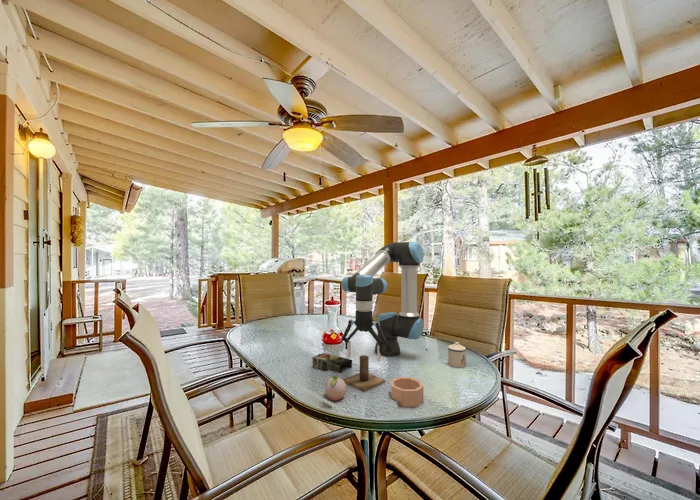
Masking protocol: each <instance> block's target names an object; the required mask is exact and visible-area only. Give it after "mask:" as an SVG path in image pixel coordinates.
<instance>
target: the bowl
mask: <svg viewBox="0 0 700 500" xmlns="http://www.w3.org/2000/svg"><path fill="white" fill-rule="evenodd" d="M390 397H391V399H393V400H395V401H398V402H397V403H396V405H398V406H400V407H408V408H410V407H411V408H412V407H413V408H417V407H418V406H420V405H422V404H423V403H424V385H423V383H422V381H421V380H418V379H417V378H416V379H415V378H414V377H413V378H412V377H409V376H408V377H403V376H402V377H399V376H398V377H396V378H394V379H392V380H390Z"/></svg>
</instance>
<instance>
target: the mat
mask: <svg viewBox="0 0 700 500" xmlns="http://www.w3.org/2000/svg"><path fill="white" fill-rule="evenodd" d="M345 384H346V386H350V387H351V388H353V389H355V390H358V391H359V392H362V393H367V392H369V391H371V390H373V389H376V388H379V387H381V386H383V385H385V384H387V382H386V381H385V383H383V384H381V385H379V386H376V387H374V388H372V389H370V390H367V391H365V392H363V391H361V390H359V389H357V388H355V387H353V386H351V385H349V384H347V383H345Z"/></svg>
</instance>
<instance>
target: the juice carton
mask: <svg viewBox="0 0 700 500" xmlns="http://www.w3.org/2000/svg"><path fill="white" fill-rule="evenodd" d="M311 363H312V367H311V368H314V369H317V370H319V371H324V372H328V371H332V372H335V373H339V374H342V373H343V372H342V371H343V367H344V366H347V367H349V369H352V368H353V367H352V366H353V360H352V359H350V358H347V357H343V356H338V355H334V354H330V353H326V352H322V353H318V354H317V355H315V356H312V361H311Z"/></svg>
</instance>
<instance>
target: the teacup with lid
mask: <svg viewBox="0 0 700 500" xmlns="http://www.w3.org/2000/svg"><path fill="white" fill-rule="evenodd" d="M447 350H448V351H447V355H448V359H447V363H448V365H449V366H450V367H454V368H465V367H466V364H467V363H466V362H467V360H466V359H467V357H466V356H467V355H466V351H467V348H466V347H465V346H463V345H461V344H460V342H458V341H454V343H453V344H449V345H448V346H447Z"/></svg>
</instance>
